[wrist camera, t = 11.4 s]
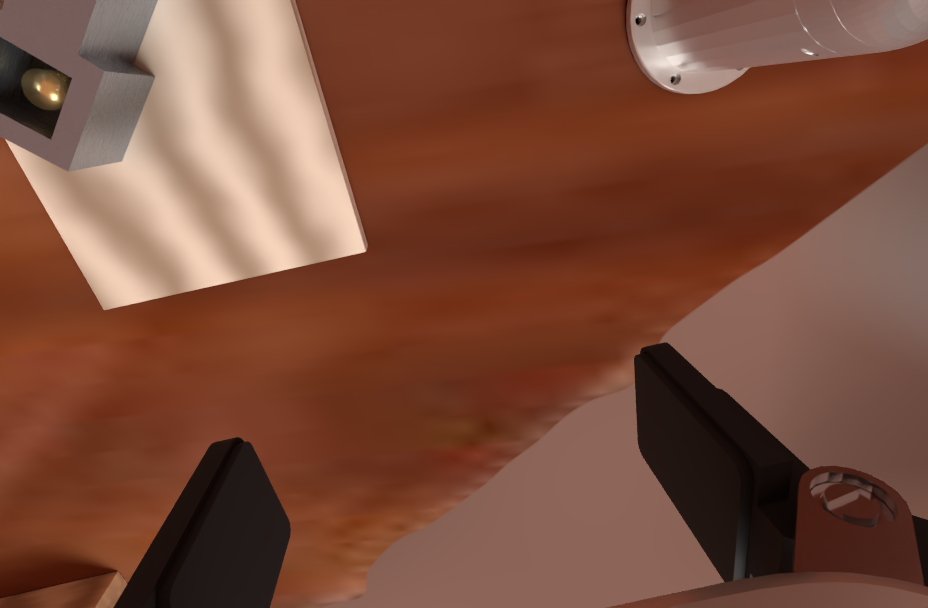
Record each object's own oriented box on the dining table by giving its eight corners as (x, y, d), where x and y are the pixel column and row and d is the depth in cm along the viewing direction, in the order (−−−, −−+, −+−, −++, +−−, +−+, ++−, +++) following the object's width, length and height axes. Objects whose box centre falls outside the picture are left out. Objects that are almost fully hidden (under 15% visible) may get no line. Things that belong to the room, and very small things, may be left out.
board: (224, -240, 29) (211, -263, 27) (367, 245, 42) (365, 251, 40) (-144, -164, 28) (-182, -183, 26) (117, 301, 41) (104, 310, 39)
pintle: (110, 71, 34) (50, 64, 29) (126, 105, 35) (71, 105, 30) (78, 78, 34) (13, 73, 29) (95, 112, 35) (35, 113, 30)
